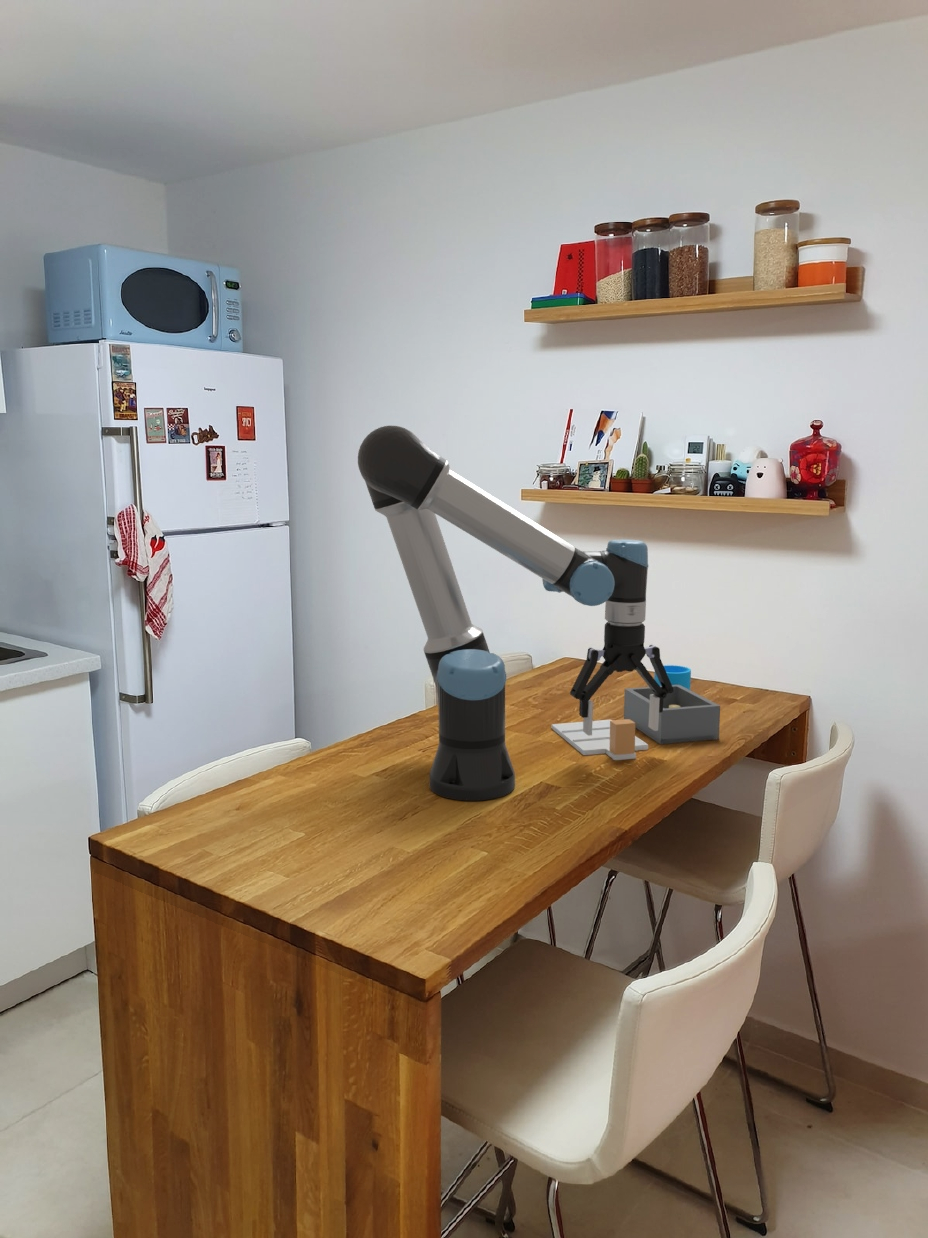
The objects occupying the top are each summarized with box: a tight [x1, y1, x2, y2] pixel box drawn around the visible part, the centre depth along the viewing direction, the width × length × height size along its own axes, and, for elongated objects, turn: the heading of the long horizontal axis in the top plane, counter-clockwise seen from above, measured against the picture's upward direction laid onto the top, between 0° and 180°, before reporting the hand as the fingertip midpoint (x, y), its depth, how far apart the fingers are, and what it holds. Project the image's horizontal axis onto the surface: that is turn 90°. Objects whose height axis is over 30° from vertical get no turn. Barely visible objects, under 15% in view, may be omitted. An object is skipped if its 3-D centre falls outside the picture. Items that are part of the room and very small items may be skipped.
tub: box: [623, 685, 721, 745], centre depth 201 cm, size 13×18×7 cm
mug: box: [653, 664, 692, 690], centre depth 223 cm, size 12×8×8 cm
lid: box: [550, 718, 649, 761], centre depth 193 cm, size 14×23×7 cm, turn 14°
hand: (620, 731), depth 184 cm, fingers open, 13 cm apart
